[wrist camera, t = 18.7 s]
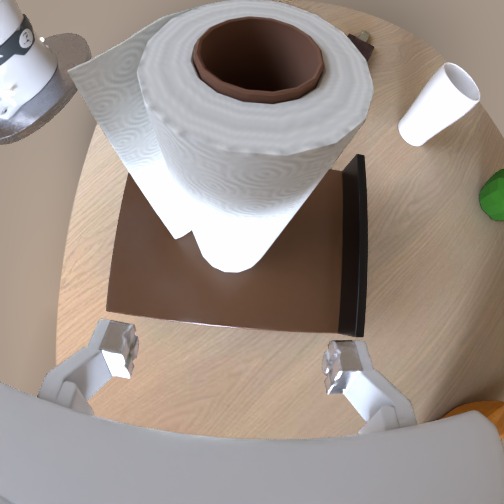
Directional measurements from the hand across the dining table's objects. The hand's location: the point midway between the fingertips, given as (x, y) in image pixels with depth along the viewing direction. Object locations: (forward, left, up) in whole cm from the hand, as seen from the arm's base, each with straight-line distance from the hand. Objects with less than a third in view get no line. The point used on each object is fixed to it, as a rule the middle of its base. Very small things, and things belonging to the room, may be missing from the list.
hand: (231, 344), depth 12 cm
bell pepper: (+43, +21, -22) cm, 52 cm away
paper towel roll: (-1, +8, -14) cm, 16 cm away
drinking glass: (+26, +30, -22) cm, 45 cm away
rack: (0, +8, -22) cm, 23 cm away
